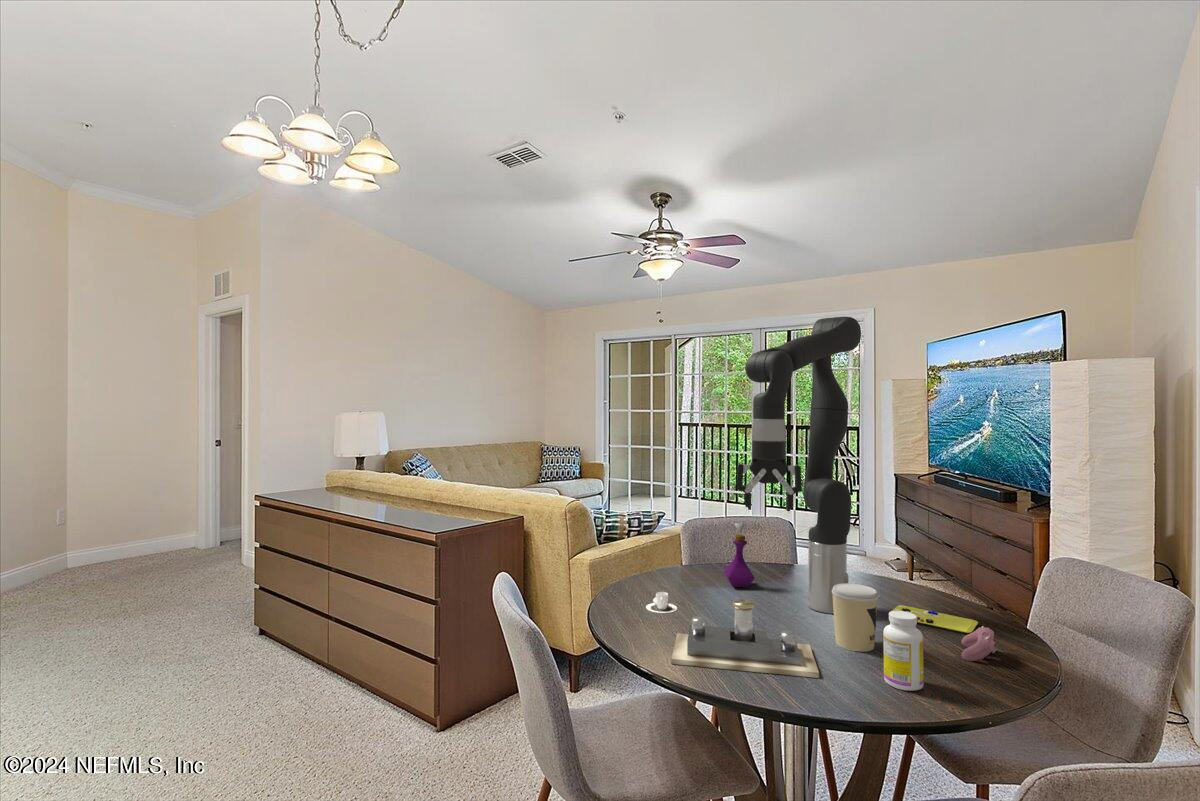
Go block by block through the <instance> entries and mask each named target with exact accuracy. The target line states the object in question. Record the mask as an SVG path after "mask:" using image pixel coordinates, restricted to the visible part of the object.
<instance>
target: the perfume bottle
mask: <svg viewBox="0 0 1200 801" xmlns="http://www.w3.org/2000/svg"><path fill="white" fill-rule="evenodd" d="M733 525H734V526H735V528H736V530H737V531H738V532H739V534H735V535H734V538H735V539H734V540H733V541H732V544H734V546H735V549H736V550H735V555H734V557H733V559H732V561H731V562H730V563H728V566H726V568H725V569H724V570H723V573H724V575H725V577H726V578H727V580H728V582H729V584H730V585H731V587H732V588H733V587H748V588H749V586H751V584H752V583H753V581H754V580H755V576H754V575H753V573H752V571H751V569H750V568H749V566H748V565H747V563H746V561H745V559H744V547H745V545H746V546H747V545H748V541H746V536H745V535H743V534H742V530H743V529H744V526H745V525H744V523H741V522H740V523H739V522H738V523H737V522H736V523H733Z"/></svg>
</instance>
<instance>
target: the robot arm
mask: <svg viewBox="0 0 1200 801" xmlns="http://www.w3.org/2000/svg"><path fill="white" fill-rule="evenodd" d="M860 325H861V324H860V323H859V322H858V320H857V319H855V318H854V317H851V316H834V317H824V318H819V319H817V320H816V321H815V322H814V324H813V326H812V329H811V330H812V331H811V334H808V335H804V336H801V337H800V336H799V337H796V338H794V339H792V340H790V341H787V342H785V343H783V344H781V345H778V346H776V347H775V346H774V347H770V348H766V349H762V350H759V351H756V352H754V353H752V354H751V355H750V356H749V357H748V358H747V361H746V362H745V366H744V369H745V370H744V371H745V374H746V376H747V378H748V379H750V380H751V381H753V382H755V383H759V384H760V383H761V384H762V383H769V384H768V387H767V388H766V391H763V392H760V393H757V394H755V396H753V399H752V400H753V401H752V405H753V406H752V427H751V462H750V464H745V463H741V462H740V463H738V465H737V472H736V473H737V474H736V476H737V477H736V489H737V490H738V491H741V492H743V493H744V506H745V508H747V510H750V511H752V492H751V491H752V490H753V489H754V487H755V486H757V484H758V483H760V484H764V485H765V484H771V485H772V484H773V485H776V484H778V483H780V485H782V487H783V488H784V489H785V491H786V497H785V499H786V502H785V503H786V504H785V509H786V512H791V510H792V509H793V508H794V495H795V494H797V493H801V492H802V497H803V502H804V503H805V505H806V506H807V508H809V509H810V510H811V511H813V512H816V513H817V519H816V520H817V521H816V524H815V526H813V527H810V528H809V530H808V579H807V581H808V591H807V592H808V597H807V600H808V607H809V608H810V609H812V610H814V611H816V612H819V613H824V614H833V615H834V610H833V594H832V589H833V587H834V586H835V585H837V584H850V583H849V582H850V581H849V574H848V571H847V567H848V564H847V557H848V556H847V554H848V553H847V552H848V550H847V549H848V548H847V546H848V544H847V543H848V540H847V539H848V535H849V533H850V530H851V521H852V520H851V519H852V496H851V492H850V489H849V487H848V485H846V484H845V483H844V482H842V481H841V480H836V479H834V464H835V463H834V462H835V458H836V454H837V452H838V450H839V448H840V447H841V445H842V442H843V441H844V438H845V436H846V433H847V430H848V421H849V420H848V419H849V402H848V399H847V396H846V394H845V393H844V391H843V389H842V387H841V386H840V384H839V381H838V380H837V378H836V376H835V374H834V372H833V366H832V356H833V355H836V354H839V353H846V352H851V351H854V350H855V349H856V348H857V347H858V346H859V344H860V343H861V338H862V330H861V326H860ZM810 364H811V365H812V370H811V371H812V373H811V374H812V376H811V377H812V383H811V385H812V386H811V398H810V399H811V400H810V401H811V402H810V413H809V436H808V438H809V441H808V454H807V456H808V457H807V464H806V471H805V474H804V475H805V477H804V482H802V470H801V469H802V468H801V466H800V465H799V464H795V465H788V464H787V427H786V398H787V395H788V392H789V388H790V384H791V381H792V376H793V373H794V372H797V371H798V370H801V369H802V368H804V367H806V366H808V365H810ZM748 470H749V471H750V472H751V473H752V475H753V477H752V478H751V479H750V481H749V482H748V483H747V484H746V485H743V481H744V478H743V477H744V474H746V473H747V472H748ZM788 471H789V472H790V474H791V475H793V476H794V486H793V487H791V486H790V484H789V483H788V482H787V481H786V480H785V478H784V477H785V475H786V474H787V473H788ZM802 483H803V484H802Z"/></svg>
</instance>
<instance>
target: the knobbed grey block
mask: <svg viewBox="0 0 1200 801" xmlns="http://www.w3.org/2000/svg"><path fill="white" fill-rule="evenodd" d="M797 644H798V643H797V640H796V633H795V632H794V631H791V630H782V631H781V632H780V638H769V637H768V632H767V630H757V629H752V642H744V641H735V627H734V628H732V627H723V626H722V627H721V626H711V625H710V626H708V625H706V618H705V617H703V616H693V617H691V624H690V625H689V630H688V640H687V655H691V656H701V657H712V658H723V659H734V660H744V661H755V662H766V663H777V664H788V665H798V666H801V656H800V653H799V649H798V646H797Z"/></svg>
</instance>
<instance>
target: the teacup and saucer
mask: <svg viewBox="0 0 1200 801" xmlns="http://www.w3.org/2000/svg"><path fill="white" fill-rule="evenodd" d="M668 602H669V593H668V592H666V591H658V592H656V593H655V597H654V598H653V600H652V603H649V604H646V605H645V608H646V610H647V611H649V612H652V613H657V614H671V613H673V612H676V611H677V610H678V606H676V605H675V604H673V603H668ZM653 606H656V607H657V609H659V610H667V607H668V606H669V607H670V608H672V609H671V610H668V611H657V610H653V608H652V607H653Z"/></svg>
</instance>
